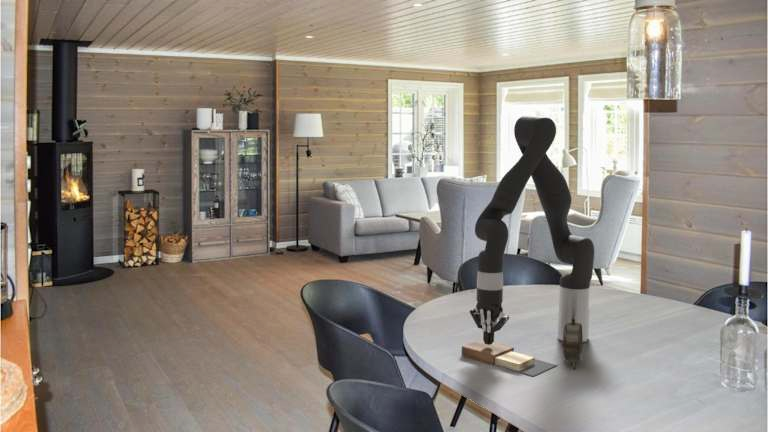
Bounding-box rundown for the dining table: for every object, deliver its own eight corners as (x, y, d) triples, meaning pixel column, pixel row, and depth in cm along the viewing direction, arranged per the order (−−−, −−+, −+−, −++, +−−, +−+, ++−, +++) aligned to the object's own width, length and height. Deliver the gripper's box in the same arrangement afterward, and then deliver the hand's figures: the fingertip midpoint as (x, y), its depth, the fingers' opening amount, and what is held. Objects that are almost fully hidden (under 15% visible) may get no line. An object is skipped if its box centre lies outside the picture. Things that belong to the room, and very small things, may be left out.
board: (482, 348, 214) (482, 338, 214) (513, 357, 206) (513, 347, 206) (461, 355, 207) (461, 346, 207) (493, 365, 199) (493, 355, 199)
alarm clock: (579, 371, 194) (581, 314, 192) (559, 369, 196) (561, 312, 194) (582, 359, 204) (584, 305, 202) (563, 357, 206) (565, 303, 204)
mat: (518, 355, 208) (518, 354, 208) (557, 366, 199) (557, 365, 199) (494, 365, 199) (494, 364, 199) (533, 376, 190) (533, 375, 190)
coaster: (510, 357, 205) (510, 351, 204) (534, 364, 199) (534, 357, 199) (494, 364, 199) (495, 357, 199) (518, 371, 194) (519, 364, 193)
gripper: (516, 287, 201) (514, 346, 204) (478, 280, 210) (477, 336, 213) (501, 292, 196) (499, 351, 198) (463, 284, 205) (462, 341, 207)
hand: (488, 343), depth 205 cm, fingers closed
